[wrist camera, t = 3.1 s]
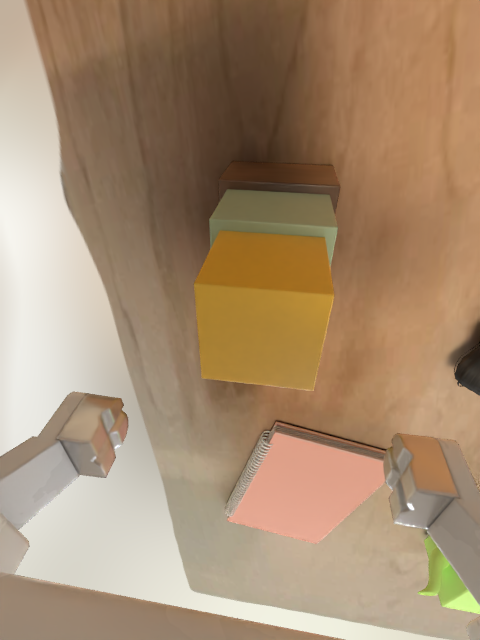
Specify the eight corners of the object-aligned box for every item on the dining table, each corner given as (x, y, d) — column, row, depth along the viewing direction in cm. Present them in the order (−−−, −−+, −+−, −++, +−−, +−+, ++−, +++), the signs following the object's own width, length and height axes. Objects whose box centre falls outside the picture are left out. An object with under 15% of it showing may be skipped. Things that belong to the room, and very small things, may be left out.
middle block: (227, 277, 23) (213, 320, 19) (226, 188, 20) (208, 218, 16) (314, 284, 23) (317, 330, 19) (330, 194, 19) (338, 227, 15)
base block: (232, 252, 27) (221, 282, 24) (231, 160, 23) (218, 179, 19) (317, 258, 27) (320, 291, 23) (333, 165, 23) (340, 185, 19)
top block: (221, 313, 19) (201, 378, 15) (219, 229, 16) (193, 283, 12) (310, 322, 18) (313, 391, 14) (325, 237, 15) (335, 295, 11)
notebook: (267, 417, 40) (266, 431, 38) (399, 452, 41) (403, 468, 39) (222, 508, 57) (220, 520, 55) (316, 532, 57) (316, 545, 56)
